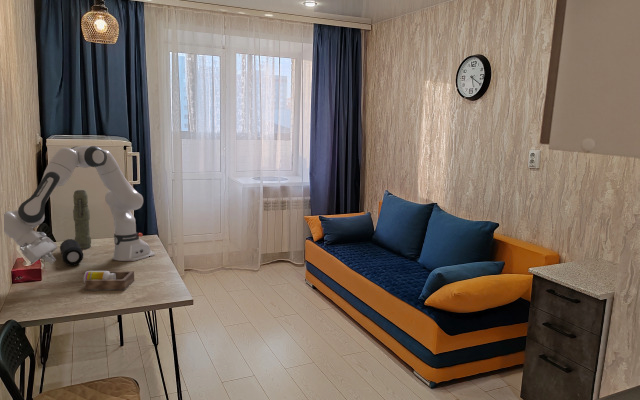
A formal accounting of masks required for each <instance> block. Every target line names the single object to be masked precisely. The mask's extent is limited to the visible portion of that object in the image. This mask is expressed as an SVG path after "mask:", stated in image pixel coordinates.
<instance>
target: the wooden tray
mask: <svg viewBox="0 0 640 400" xmlns="http://www.w3.org/2000/svg"><path fill="white" fill-rule="evenodd" d="M108 271H109V270H108ZM109 272H110V273H115V274H116V279H115V280H85V283H84V287H85V291H126V290H127V289H128V288H129V285H130V286H131V284H132V283H134V281H135V271H133V270H132V271H131V270H129V271H128V270H127V271H125V270H124V271H123V270H121V271H120V270H119V271H117V270H113V271H112V270H110V271H109Z"/></svg>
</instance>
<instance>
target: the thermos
mask: <svg viewBox="0 0 640 400" xmlns="http://www.w3.org/2000/svg"><path fill="white" fill-rule="evenodd" d="M72 199H73V204H74V205H73V210H72V215H73V216H72V217H73V222H74V234H75V236H74V240H75V241H77V242H78V243H79V245H80V248H81V250H87V249H90V247H91V248H92V238H91V234H90V233H91V232H90V218H91V217H90V208H89V203H88V202H89V201H88V200H89V199H88V193H87V191H86V190H85V189H78V190H75V191H74V193H73V197H72Z"/></svg>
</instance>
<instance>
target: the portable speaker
mask: <svg viewBox="0 0 640 400" xmlns="http://www.w3.org/2000/svg"><path fill="white" fill-rule="evenodd" d="M59 251H60V254H61V257H62V260H63V262H64V263H65V264H66V265H68V266H76V265H79V264H80V263H81V262H82V261H83V259H84V253H83V249H81V248H80V245H79V243H78V242H77V241H75V239H72V238H71V239H69V238H67V239H66V240H65V239H64V240H63V242H61V243H60V246H59Z"/></svg>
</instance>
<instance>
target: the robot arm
mask: <svg viewBox="0 0 640 400" xmlns="http://www.w3.org/2000/svg"><path fill="white" fill-rule="evenodd" d="M76 168H83V169H84V168H95V170H96V172H97V174H98V176H99V178H100V179H101V182H102V184H103V185H104V186H105V188H106V189H107V190H108V191H107V192H106V193H105V196H104V198H105V199H104V200H105V202H106V204H107V205H108V207H109V209H110V211H111V214H112V217H113V223H114V225H113V226H114V234H113V241H114V251H113V255H112V260H114V261H120V262H121V261H123V262H125V261H129V262H130V261H131V262H135V261H139V260H142V259H145V258H146V259H147V258H150V257H152V256H155V255H156V254H155V252H154V251H152V250H151V247H150V245H149V244H148V243H147V242H146V241H144V240H143V239H142V237H143V236H144V235H143V233H142V232H137V224H136V218H135V216H134V215H133V213H132V211H136V210H140V209H141V208H142V207H143V205H144V197H143V195H142V194H141V193H139V192H138V191H137V190H136V189H135V188H134V187H133V186H132V185H131V183H130V182H129V181H128V180H127V179H126V177H125V175H124V172H123V171H122V170H121V167H120V166H119V163H118V162H117V160H116V158H115V156H113V154H112V153H111V152H110V151H109V150H107V149H102V148H100V147H99V146H95V145H81V146H73V147H71V148H70V147H61V148H60V149H58V151H57V152H56V153H55V154H54V155H53V156H52V157H51V159H50V161H49V162H48V164H47V165H46V167H45V170H44V172H43V175H42V178H41V181H40V182H39V184H38V185H37V187H36V189H35V190H34V192H33V193H32V194H31V196H29V197H28V199H26V200H24V201H23V202H22V203H21V204H20V205H19V206H18V209H16V210H8V211H6V212H4V213H5V214H4V213H3V214H4V232H5V233H4V232H3V233H4V234H5V235H7V237H9V238H10V239H12V240H13V241H14V242H15V243H16V244H17V245H18V246H19V250H20V251H21V254H22V255H23V256H24V257H25V258H26V259H27V261H29V262H31V263H35V262H37V261H39V260H40V259H42V260H43V261H46V262H48V263H50V264H53V263H55V262H56V261H57V258H56V257H54V254H53V252H54V251H55V250H57V249H58V245H57V244H56V243H55V242H54V241H53V240H52V239H51V238H50V237H48V236H47V234H46V233H45V232H43V231H41V232H40V231H36V230H34V228H36V227H38V226H40V225H41V224H43V222H44V221H45V218H46V216H45V209H46V208H45V207H46V203H47V201H48V200H49V198H50V196H52V194H53V192H54V191H55V189H56V188H59V187H62V186H64V185H65V184H66V183H67V181H68V180H69V179H70V178H71V177H72V174H73V172H74V170H75V169H76ZM149 256H150V257H149Z"/></svg>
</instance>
